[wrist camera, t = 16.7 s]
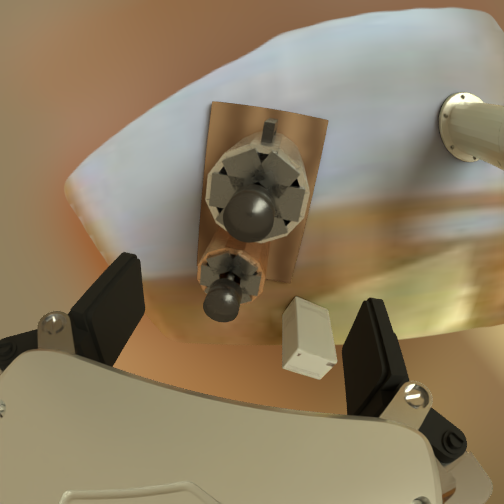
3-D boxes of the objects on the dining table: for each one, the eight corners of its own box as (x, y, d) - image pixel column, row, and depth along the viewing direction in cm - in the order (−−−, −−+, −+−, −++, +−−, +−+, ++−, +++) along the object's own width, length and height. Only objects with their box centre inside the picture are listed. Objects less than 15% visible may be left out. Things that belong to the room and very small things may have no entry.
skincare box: (281, 313, 61) (277, 368, 48) (296, 293, 58) (295, 348, 45) (315, 327, 61) (318, 382, 49) (331, 308, 59) (338, 363, 46)
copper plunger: (261, 236, 47) (249, 293, 34) (255, 270, 50) (242, 332, 37) (222, 229, 48) (196, 282, 34) (219, 263, 51) (194, 321, 38)
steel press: (311, 124, 41) (323, 135, 27) (294, 203, 48) (296, 252, 33) (239, 112, 42) (213, 117, 27) (228, 191, 48) (201, 234, 34)
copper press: (274, 220, 50) (269, 258, 39) (263, 278, 55) (255, 324, 44) (218, 210, 50) (198, 244, 39) (213, 269, 56) (194, 311, 45)
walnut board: (327, 120, 42) (328, 120, 40) (290, 279, 56) (290, 283, 55) (214, 101, 42) (212, 101, 41) (198, 262, 57) (196, 265, 56)
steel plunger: (296, 150, 40) (300, 186, 23) (286, 199, 43) (283, 265, 27) (242, 141, 40) (209, 170, 24) (236, 190, 44) (202, 249, 27)
